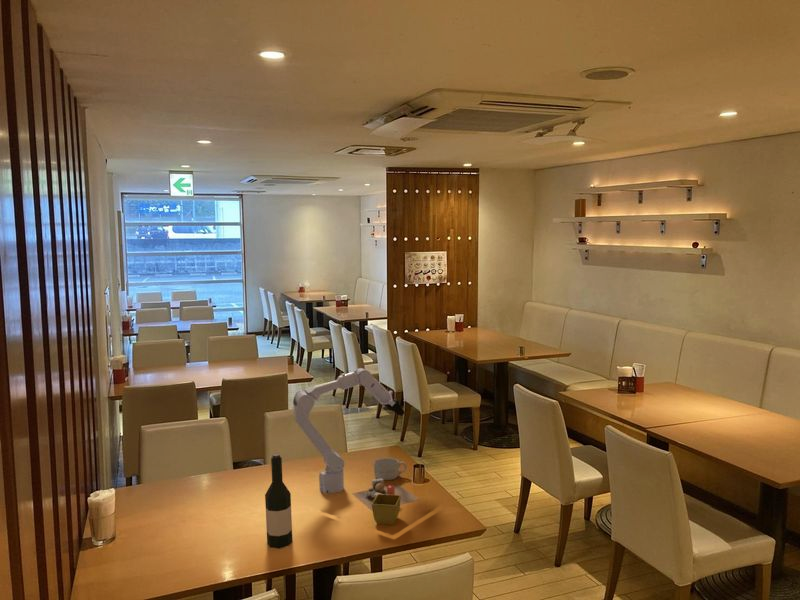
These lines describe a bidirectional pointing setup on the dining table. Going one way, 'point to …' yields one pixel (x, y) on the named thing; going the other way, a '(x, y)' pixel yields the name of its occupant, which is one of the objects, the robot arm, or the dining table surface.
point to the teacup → (388, 468)
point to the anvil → (376, 481)
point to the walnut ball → (379, 487)
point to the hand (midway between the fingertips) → (399, 411)
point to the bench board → (399, 490)
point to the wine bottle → (278, 508)
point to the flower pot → (386, 508)
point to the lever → (373, 494)
